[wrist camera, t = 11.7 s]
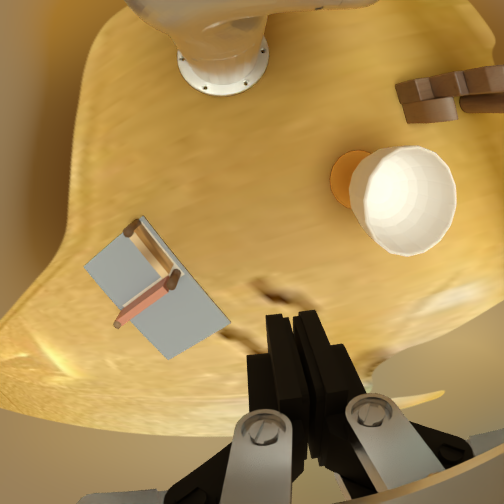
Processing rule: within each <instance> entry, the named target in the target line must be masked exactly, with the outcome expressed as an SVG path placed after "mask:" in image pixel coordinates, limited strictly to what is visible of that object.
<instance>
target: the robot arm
mask: <svg viewBox="0 0 504 504" xmlns="http://www.w3.org/2000/svg"><path fill="white" fill-rule="evenodd" d="M124 1H125V2H126V3H127V5H128V6H129V7H130V8H131V9H132V10H133V11H134V12H135V14H136V15H137V16H138V17H140V18H141V19H142V20H143V21H144V22H146V23H147V24H149V25H150V26H152V27H154V28H155V29H157V30H159V31H161V32H163V33H166V34H168V35H169V36H170V38H171V39H172V41H173V42H174V44H175V45H176V47H177V48H178V52H177V62H178V67H179V70H180V73H181V74H182V76H183V77H184V79H185V80H186V81H187V83H188V84H190V85H191V86H192V87H193V88H194V89H196V90H198V91H200V92H201V93H204V94H207V95H211V96H217V97H227V96H232V95H236V94H239V93H242V92H244V91H246V90H248V89H249V88H251V87H252V86H253V85H254V84H256V83H257V82H258V81H259V79H260V78H261V77H262V76H263V74H264V72H265V70H266V67H267V65H268V60H269V47H268V44H267V41H266V39H265V37H264V31H265V27H266V23H267V19H268V15H271V14H274V13H284V12H296V11H313V10H338V9H357V8H363V7H367V6H370V5H372V4H374V3H376V2H378V1H379V0H124ZM262 50H263V51H264V53H262V52H261V51H262ZM183 58H185V61H182V59H183ZM244 83H247V84H248V85H247V86H245V85H244ZM204 87H207V90H204ZM266 330H267V343H268V353H265V354H255V355H247V375H248V394H249V413H247V414H246V415H244V416H243V417H242V418H241V419H240V420H239V421H238V422H237V424H236V427H235V430H234V435H233V441H232V442H231V443H230V444H229V445H227V446H226V447H225V448H223V449H222V450H221V451H220V452H218V453H217V454H216V455H214V456H213V457H212V458H210V459H209V460H208V461H206V462H205V463H204V464H202V465H201V466H200V467H198V468H197V469H196V470H194V471H193V472H191V473H190V474H189V475H187V476H186V477H184V478H183V479H181V480H180V481H179V482H177V483H176V484H174V485H173V486H172V487H171V488H170V489H169V490H166V491H157V489H150V490H139V491H128V492H111V493H93V494H88V495H86V496H84V497H82V498H81V499H80V500H79V501H78V503H77V504H291V502H292V483H293V482H294V480H296V478H297V477H298V476H299V475H300V474H301V473H302V472H303V471H304V460H306V459H307V447H308V446H309V450H310V454H311V458H312V459H313V458H318V462H319V466H325V468H327V469H329V470H331V471H333V472H335V474H334V475H335V478H336V481H337V483H338V485H339V487H340V489H341V491H342V493H343V496H344V498H345V499H346V501H344V502H339V503H334V504H504V428H503V429H499V430H495V431H491V432H487V433H483V434H478V435H473V436H469V437H468V439H467V440H464V439H462V438H460V437H457V436H454V435H451V434H448V433H444V432H441V431H438V430H435V429H432V428H428V427H425V426H422V425H419V424H416V423H413V422H410V421H408V419H407V418H406V417H405V416H404V414H403V413H402V412H401V410H400V409H399V408H398V406H397V405H396V404H395V403H394V402H393V401H392V400H391V399H390V398H388V397H386V396H384V395H381V394H377V393H366V391H365V389H364V387H363V384H362V382H361V380H360V378H359V376H358V374H357V372H356V369H355V367H354V365H353V363H352V361H351V359H350V357H349V355H348V353H347V350H346V348H345V346H344V345H343V344H336V345H330V343H329V341H328V338H327V336H326V333H325V331H324V329H323V326H322V324H321V322H320V319H319V317H318V315H317V313H316V311H315V310H309V311H301V312H299V314H298V316H294V317H293V331H292V328H291V324H290V321H289V317H285V318H283V316H282V314H274V315H266Z"/></svg>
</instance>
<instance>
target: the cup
mask: <svg viewBox="0 0 504 504" xmlns="http://www.w3.org/2000/svg"><path fill="white" fill-rule="evenodd" d="M330 184H331V191H332V193H333V194H334V196H335V198H336V199H337V201H338V202H340V203H341V204H342V205H344V206H345V207H346V208H350V209H352V211H353V213H354V214H355V216H356V218H357V220H358V222H359V224H360V225H361V227H362V228H363V229H364V231H365V232H366V233H367V234H368V235H369V236H370V237H371V238H372V239H373V240H374V241H375V242H376V243H378V244H379V245H380V246H381V247H383V248H384V249H385V250H386V251H388V252H389V253H392V254H396V255H401V256H406V257H408V256H412V255H416V254H421V253H425V252H426V251H427V250H429V249H430V248H431V247H433V246H434V245H436V244H437V243H438V242H440V240H441V239H442V238H443V236H444V235H445V233H446V232H447V230H448V229H449V227H450V226H451V223H452V220H453V216H454V213H455V209H456V185H455V182H454V179H453V177H452V174H451V172H450V169H449V167H448V165H447V164H446V163H445V162H444V161H443V160H442V159H441V158H440V157H439V156H438V155H437V154H436V153H435V152H433V151H431V150H428V149H426V148H423V147H421V146H397V147H388V148H382V149H379V150H377V151H375V152H374V153H372V154H371V153H368V152H365V151H362V150H357V151H349V152H347V153H346V154H344V155H343V156H341V157H339V159H338V160H337V161H336V163H335V164H334V166H333V167H332V171H331V175H330Z"/></svg>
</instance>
